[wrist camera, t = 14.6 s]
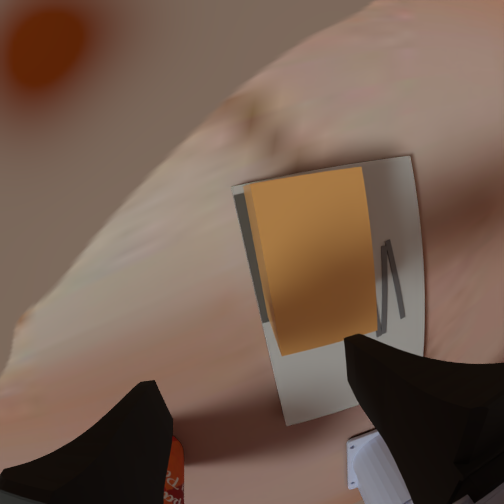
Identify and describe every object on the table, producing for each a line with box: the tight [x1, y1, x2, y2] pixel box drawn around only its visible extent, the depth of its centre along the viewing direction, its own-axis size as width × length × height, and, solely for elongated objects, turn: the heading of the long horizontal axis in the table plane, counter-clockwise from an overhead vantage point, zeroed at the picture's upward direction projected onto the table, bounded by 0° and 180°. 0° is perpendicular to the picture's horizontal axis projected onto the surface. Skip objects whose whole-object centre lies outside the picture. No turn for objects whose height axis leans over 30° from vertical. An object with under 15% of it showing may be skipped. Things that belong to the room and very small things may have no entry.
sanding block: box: [243, 167, 377, 356], centre depth 16 cm, size 8×5×5 cm, turn 11°
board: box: [231, 156, 425, 426], centre depth 20 cm, size 18×12×1 cm, turn 12°
